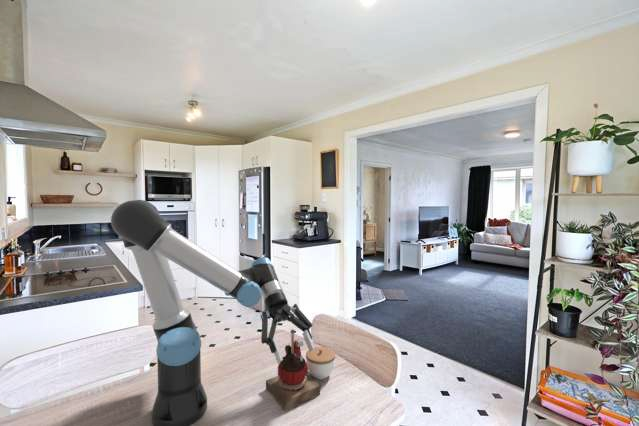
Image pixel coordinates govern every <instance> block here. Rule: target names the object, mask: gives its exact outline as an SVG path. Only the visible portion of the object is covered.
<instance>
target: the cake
mask: <svg viewBox="0 0 639 426" xmlns="http://www.w3.org/2000/svg"><path fill="white" fill-rule="evenodd" d="M290 331H291V333H290V335H291V336H290V337H291V338H290V341H291V342H290V344H287V345H285V346H284V350H285V355H284V356H282V358H283V360H282V361H281V362H280V363H279V364H278V363H277V364H278V366H277V376H279V377H280V378H278V384H279V385H280V387H282V386H283V388H284V389H285V388H286V389H289V390H291V389H294V390H296V389H299V388H302V386H304V385H305V384H306V382H307V377H306V374H307V375H308V373H309V371H308V365H307V363H306V358H304V357H303V355H302V351H301V350H302V349H301V347H303V346H304V340H302V339H296V340H295V328H292V329H291V330H290Z"/></svg>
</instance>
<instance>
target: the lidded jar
mask: <svg viewBox="0 0 639 426" xmlns="http://www.w3.org/2000/svg"><path fill="white" fill-rule="evenodd" d="M314 347H315V349H314V350H313V351H311V352H310V351H309V349H307V350H306V353H305V362H306V363H307V365H308V373H310V375H311V376H312V378H313V379H317V380H325V379H327V378H328V377H330V375H331V374H332V372H333V371H334V368H335V364H336V352H335V351H334V350H333V349H332V348H329V347H326V346H314Z"/></svg>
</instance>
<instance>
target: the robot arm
mask: <svg viewBox="0 0 639 426" xmlns="http://www.w3.org/2000/svg"><path fill="white" fill-rule="evenodd" d="M110 217H111V218H110V223H111V224H110V225H111V227H112V229H113V231H114V233H116V235H117V236H119V237H120V238H121V239H122V243H123V245H124V248H125V249H126V250H129V251H131V252H132V254H133V257H134V260H135V262H136V266H137V269H138V271H139V275H140V277H141V279H142V283H143V286H144V288H145V291H146V295H147V298H148V300H149V303H150V306H151V309H152V312H153V314H154V318H155V321H154V322H153V324H152V329H153V332H154V334H155V335H154V336H155V338H156V341H157V346H156V356H157V357H156V359H157V361H156V362H157V393H156V397H155V400H154V403H153V407H152V409H151V423H152V425H153V426H191V425H192V424H194V423H195V422H197V421H198V420H200V419H201V418H202V417H203V416H204V414H205V413H206V411H207V409H208V396H207V393H206V391H205V387H204V386H203V383H202V376H201V375H202V372H201V371H202V370H201V369H202V368H201V367H202V366H201V363H202V361H201V359H202V358H201V355H202V354H201V347H202V340H201V336H200V333H199V331H198V329H197V326H196V323H195V322H194V320H193V317H192V314H191V312H190V309H187V308H184V306H183V303H182V300H181V296H180V294H179V290H178V287H177V284H176V281H175V278H174V275H173V272H172V269H171V265H170V262H169V260H170V261H171V262H173V263H174V264H176V265H178V266H180V267H181V268H183V269H185V270H187V271H188V272H190V273H192V274H193V275H195V276H197V277H198V278H200V279H202V280H204V281H206V282H207V283H209V284H210V285H211V286H213V287H215V288H217V289H219V290H220V291H222V292H223V293H224V295H225V296H227V297H229V296H230V297H232V298H233V299H235V300H237V301H238V303H239V304H241V305H242V306H244V307H247V308H249V307H250V308H251V307H253V306H254V307H255V305H257V304H258V303H259V301H260V300H261V298H263V300H264V304H265V308H266V309H267V311H265V310H264V311H262V313H261V314H260V320H261V336H260V337H261V338H260V339H261V340H260V341H261V344H266V345H267V346H268V347H269V349H270V353H271V354H274V357H275V360H276V363H277V364H280V362H281V361H282V360H283V358H282V357H283V356H282V353H281V351H280V348H279V345H278V342H277V340H276V339H274V337H275V333H276V329H277V325H278V323H281V322H286V321H288V322H290V323H291V324H293V325H294V326H295V327H297V328H298V329H299V330H300V331H302V337H303V339H304V342H305V345H306V346H307V350H309V351H310V352H311V351H313V350H314V349H315V347H316V346H315V345H314V343H313V341H312V340H313V336H312V334H311V331H310V329H311V328H312V327H313V323H312V322H311V321H310V320H309V318H307V317H306V315H305V314H304V313H303V311H301V310H300V308H299V306H298V304H297V303H294V304H293V305H291V306H290V305H289V304H288V300H287V297H286V294H285V293H284V290H283V287H282V284H281V282H280V280H279V278H278V275H277V273H276V270H275V266H274V264H273V263H272V261H271V259H270V258H268V257H259V258H257V259H255V260H254V261H253V262H252V263H251V266H250V267H249V268H245V269H242V270H236V269H235V268H234V267H232V266H231V265H229V264H227V263H226V262H224V261H222V260H221V259H220V258H218V257H216V256H214V255H213V254H212V253H210V252H209V251H207V250H205V249H204V248H202V247H201V246H199V245H198V244H196V243H194V242H193V241H192V240H190V239H188V238H187V237H185V236H184V235H182V234H180V233H178V231H176V230H174V229H173V228H172V224H171V223H170V222H168V221H167V220H165V219H164V218H162V217H161V214H160V212H159V210H158V209H157V207H156V206H155V205H154V204H153V203H152V202H149V201H148V200H142V199H135V200H133V199H132V200H126V201H125V202H123V203H121V204H119V205H118V206H116V207H115V209H114V210H113V212H112V215H111V216H110ZM269 318H271V319H272V320H271V321H272V322H271V325H270V329H269V332H268V328H269V327H268V325H269V324H268V323H269V322H268V321H269V320H268V319H269Z"/></svg>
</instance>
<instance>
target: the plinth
mask: <svg viewBox="0 0 639 426" xmlns="http://www.w3.org/2000/svg"><path fill="white" fill-rule="evenodd" d="M306 377H307V382H306V384H305V385H304V386H302V388H299V389H296V390H294V389H291V390H289V389H286V388H285V389H284V388H283V386H282V387H280V385H279V384H278V378H280V377H279V376H278V375H276V376H274V377H270V378H269V379H266V380H265V390H266V391H267V392H268V393H269V394H270V395H271V396H272V398H273V400H275V401H276V402H277V403H278V404H279V405H280V406H281V407H282V409H284V411H286V412H287V411H289V410H291V409H292V408H294V407H296V406H298V405H301V404H302V403H305V402H307V401H309V400H311V399H313V398H315V397H317V396H319V395H320V394H321V385H320V384H319V383H318V382H317V381H315V380H314V378H313V377H310V375H308V373H307V374H306Z"/></svg>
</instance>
